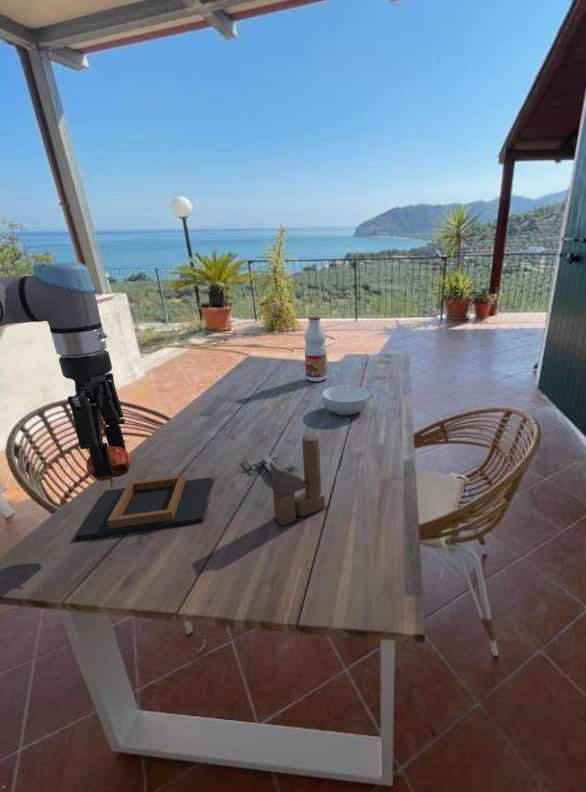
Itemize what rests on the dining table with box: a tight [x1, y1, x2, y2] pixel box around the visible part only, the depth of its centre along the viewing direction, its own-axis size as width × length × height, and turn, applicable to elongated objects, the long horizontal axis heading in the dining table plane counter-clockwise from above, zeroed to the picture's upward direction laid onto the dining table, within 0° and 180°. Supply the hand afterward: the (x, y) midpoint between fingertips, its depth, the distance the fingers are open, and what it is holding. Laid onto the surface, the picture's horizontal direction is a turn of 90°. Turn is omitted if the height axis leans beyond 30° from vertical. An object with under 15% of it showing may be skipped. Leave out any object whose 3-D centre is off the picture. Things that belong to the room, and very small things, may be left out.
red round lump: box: [86, 442, 132, 489], centre depth 77 cm, size 7×7×10 cm
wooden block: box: [270, 433, 326, 526], centre depth 84 cm, size 4×11×18 cm, turn 125°
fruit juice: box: [303, 315, 328, 378], centre depth 168 cm, size 9×9×28 cm
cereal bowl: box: [321, 385, 370, 416], centre depth 139 cm, size 17×17×7 cm
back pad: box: [75, 475, 212, 541], centre depth 88 cm, size 24×16×3 cm, turn 103°
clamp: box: [243, 455, 295, 474], centre depth 103 cm, size 15×2×10 cm
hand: (112, 464), depth 77 cm, fingers closed on red round lump, 7 cm apart
